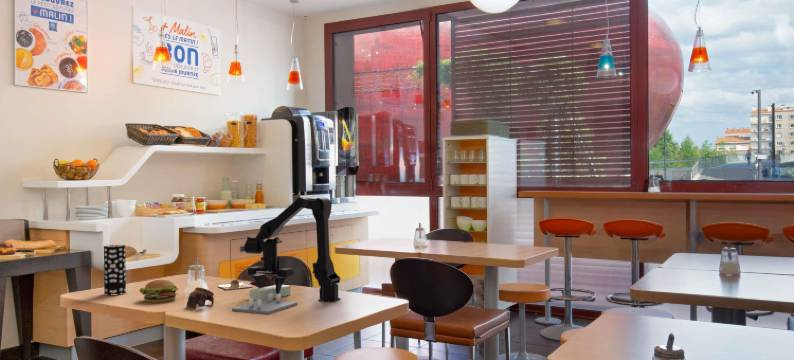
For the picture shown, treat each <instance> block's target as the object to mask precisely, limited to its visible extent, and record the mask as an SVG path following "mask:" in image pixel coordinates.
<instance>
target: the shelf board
mask: <svg viewBox="0 0 794 360" xmlns="http://www.w3.org/2000/svg"><path fill="white" fill-rule="evenodd" d="M268 294H273V298H274V299H276V295H277V292H276V284H275V285H273V286H268V287H263V288H258V287H257V288H253V289H249V299H253V301H257V300H261V299H263V300H268ZM279 294H281V298H282V296H283V297H288V296H291V295H292V294H291V285H286V284H282V287H281V290H280V293H279ZM287 295H288V296H287Z"/></svg>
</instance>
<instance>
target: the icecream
mask: <svg viewBox="0 0 794 360" xmlns="http://www.w3.org/2000/svg"><path fill="white" fill-rule="evenodd" d="M275 277H278V275H277V274H274V275H272V276H269V275H267V274H266V275H265V278H264V287H268V286H273V285H276V284H275ZM249 285H250V286H253V287H256V288H257V289H258V288H259V286H258V284H257V282H256V281H255V280H253V281H251V282H249Z"/></svg>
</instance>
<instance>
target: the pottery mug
mask: <svg viewBox="0 0 794 360" xmlns="http://www.w3.org/2000/svg"><path fill="white" fill-rule="evenodd" d="M214 295H215V293H214V292H212V291H211V290H209V289H206V288H204V287H199V286H198V287H195V288H194V290H193V291H191V292H190V293H189V296H188V298H187V302H186V308H189V309H193V310H196V309H197V306H198V307H200V308H202V307H204V306H205V304H206V301H209V302H211V303H210V304H211V306H213V305H214V304H215V303H214V302H215V300H214Z"/></svg>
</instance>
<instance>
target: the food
mask: <svg viewBox="0 0 794 360" xmlns="http://www.w3.org/2000/svg"><path fill="white" fill-rule="evenodd" d="M178 290H179V288H178V287H177V285H175V284H174V282H173V281H170V280H166V279H157V280H152V281H149V282H147V284H145V285H144V287H141V288H140V289H139V293H141V294H142V296H143V301H144V302H145V301H146V303H150V302H159V303H166V302H167V301H168V302H171V301H174V300H175V299H176V296H177V295H179V293H178V292H177V291H178Z"/></svg>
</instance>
